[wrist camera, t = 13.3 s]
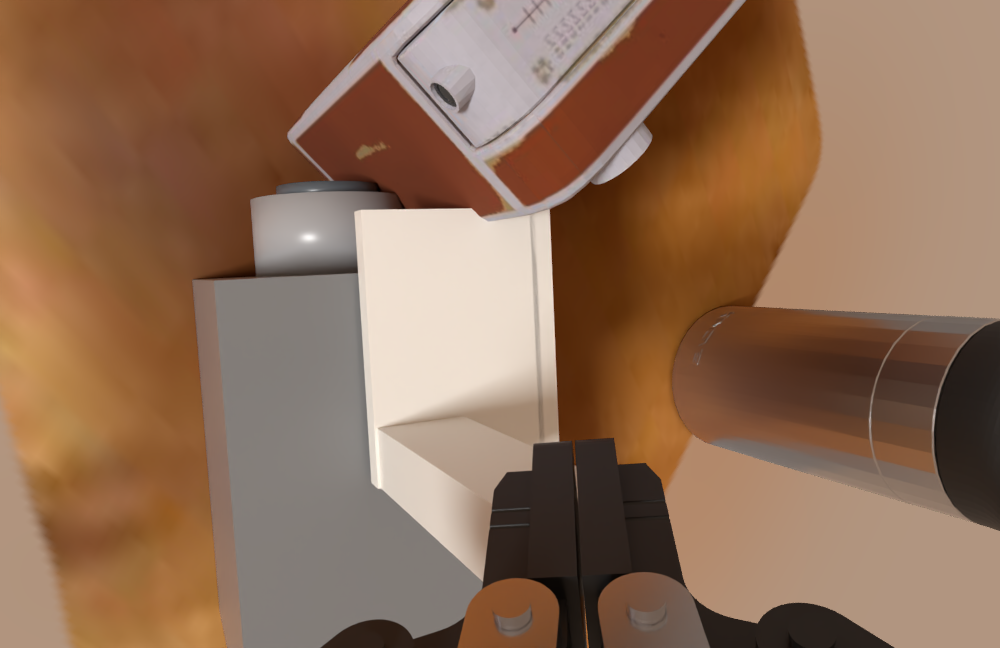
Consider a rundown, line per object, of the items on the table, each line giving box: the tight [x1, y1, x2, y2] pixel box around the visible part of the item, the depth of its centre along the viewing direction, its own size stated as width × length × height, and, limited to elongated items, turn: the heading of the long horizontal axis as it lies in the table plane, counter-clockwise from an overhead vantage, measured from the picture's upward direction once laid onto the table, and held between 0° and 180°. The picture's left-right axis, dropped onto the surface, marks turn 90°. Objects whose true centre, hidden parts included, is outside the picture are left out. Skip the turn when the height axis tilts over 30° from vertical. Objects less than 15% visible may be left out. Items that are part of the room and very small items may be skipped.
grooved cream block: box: [354, 208, 578, 581], centre depth 26 cm, size 9×7×23 cm
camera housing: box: [192, 181, 483, 648], centre depth 31 cm, size 20×10×13 cm, turn 3°
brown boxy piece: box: [288, 0, 746, 222], centre depth 30 cm, size 9×19×20 cm, turn 137°
